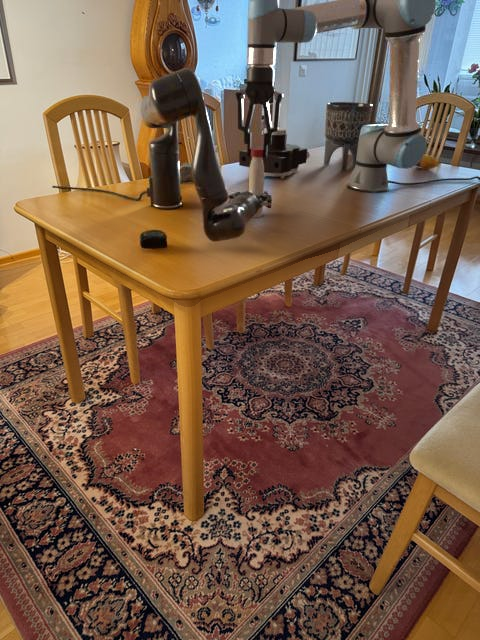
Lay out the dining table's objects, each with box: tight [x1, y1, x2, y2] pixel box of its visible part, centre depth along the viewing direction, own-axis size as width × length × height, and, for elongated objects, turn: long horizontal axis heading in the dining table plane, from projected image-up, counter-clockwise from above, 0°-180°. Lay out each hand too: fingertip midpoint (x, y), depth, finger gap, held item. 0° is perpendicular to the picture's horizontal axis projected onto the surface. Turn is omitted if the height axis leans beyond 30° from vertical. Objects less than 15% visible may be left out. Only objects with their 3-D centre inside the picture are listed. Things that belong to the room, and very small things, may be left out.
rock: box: [179, 161, 194, 184], centre depth 179 cm, size 13×9×6 cm, turn 131°
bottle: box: [248, 157, 265, 218], centre depth 139 cm, size 4×4×20 cm
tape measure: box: [139, 229, 168, 250], centre depth 117 cm, size 7×7×4 cm
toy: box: [414, 154, 440, 170], centre depth 211 cm, size 11×6×15 cm
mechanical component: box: [238, 120, 311, 179], centre depth 191 cm, size 22×21×30 cm
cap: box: [250, 146, 264, 157], centre depth 135 cm, size 4×4×2 cm
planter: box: [323, 101, 374, 172], centre depth 204 cm, size 20×20×26 cm
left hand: (257, 193), depth 143 cm, fingers closed on bottle, 4 cm apart
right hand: (257, 156), depth 135 cm, fingers closed on cap, 4 cm apart
